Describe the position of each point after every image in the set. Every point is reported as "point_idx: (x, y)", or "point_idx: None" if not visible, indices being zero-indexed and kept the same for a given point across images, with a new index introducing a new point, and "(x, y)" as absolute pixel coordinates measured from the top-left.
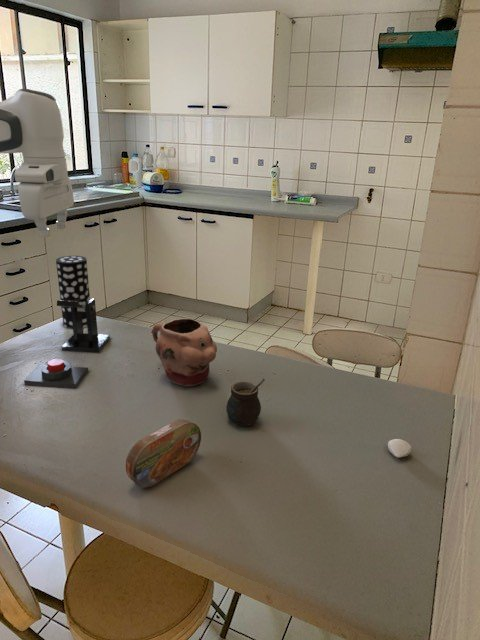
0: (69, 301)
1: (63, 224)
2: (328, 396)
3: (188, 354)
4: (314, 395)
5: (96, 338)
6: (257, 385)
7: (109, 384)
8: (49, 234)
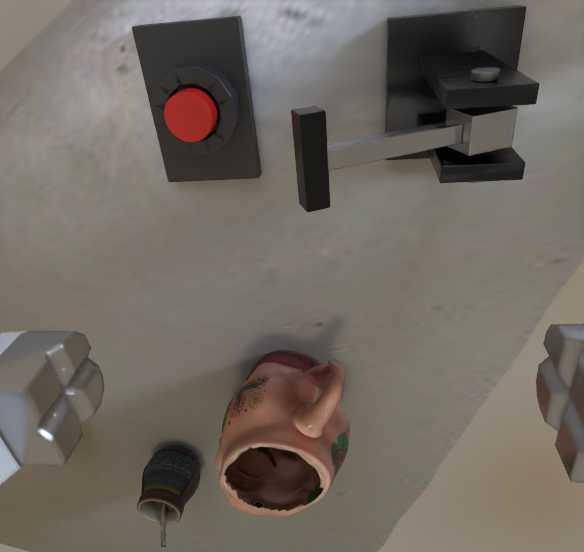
0: (304, 177)
1: (558, 447)
2: (281, 540)
3: (216, 457)
4: (280, 528)
5: None
6: (161, 530)
7: (217, 244)
8: (91, 405)
